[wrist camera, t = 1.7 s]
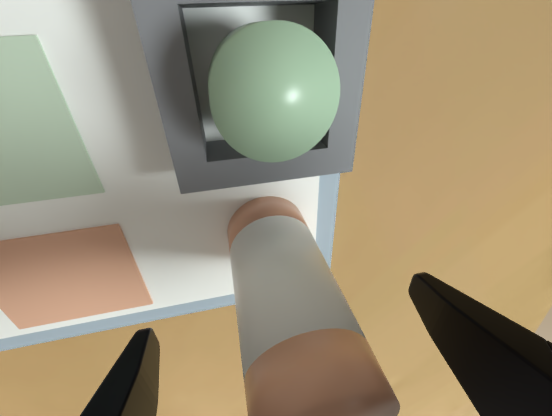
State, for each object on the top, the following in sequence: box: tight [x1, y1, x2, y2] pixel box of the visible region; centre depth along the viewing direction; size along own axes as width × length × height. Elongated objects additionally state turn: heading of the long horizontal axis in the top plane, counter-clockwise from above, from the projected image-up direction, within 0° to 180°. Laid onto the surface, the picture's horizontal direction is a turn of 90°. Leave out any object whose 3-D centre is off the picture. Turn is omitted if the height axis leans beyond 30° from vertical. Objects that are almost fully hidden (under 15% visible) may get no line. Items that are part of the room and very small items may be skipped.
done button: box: [208, 20, 340, 163], centre depth 7 cm, size 3×3×2 cm
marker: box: [227, 196, 400, 416], centre depth 10 cm, size 4×4×8 cm
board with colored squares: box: [0, 0, 374, 351], centre depth 10 cm, size 18×15×3 cm
